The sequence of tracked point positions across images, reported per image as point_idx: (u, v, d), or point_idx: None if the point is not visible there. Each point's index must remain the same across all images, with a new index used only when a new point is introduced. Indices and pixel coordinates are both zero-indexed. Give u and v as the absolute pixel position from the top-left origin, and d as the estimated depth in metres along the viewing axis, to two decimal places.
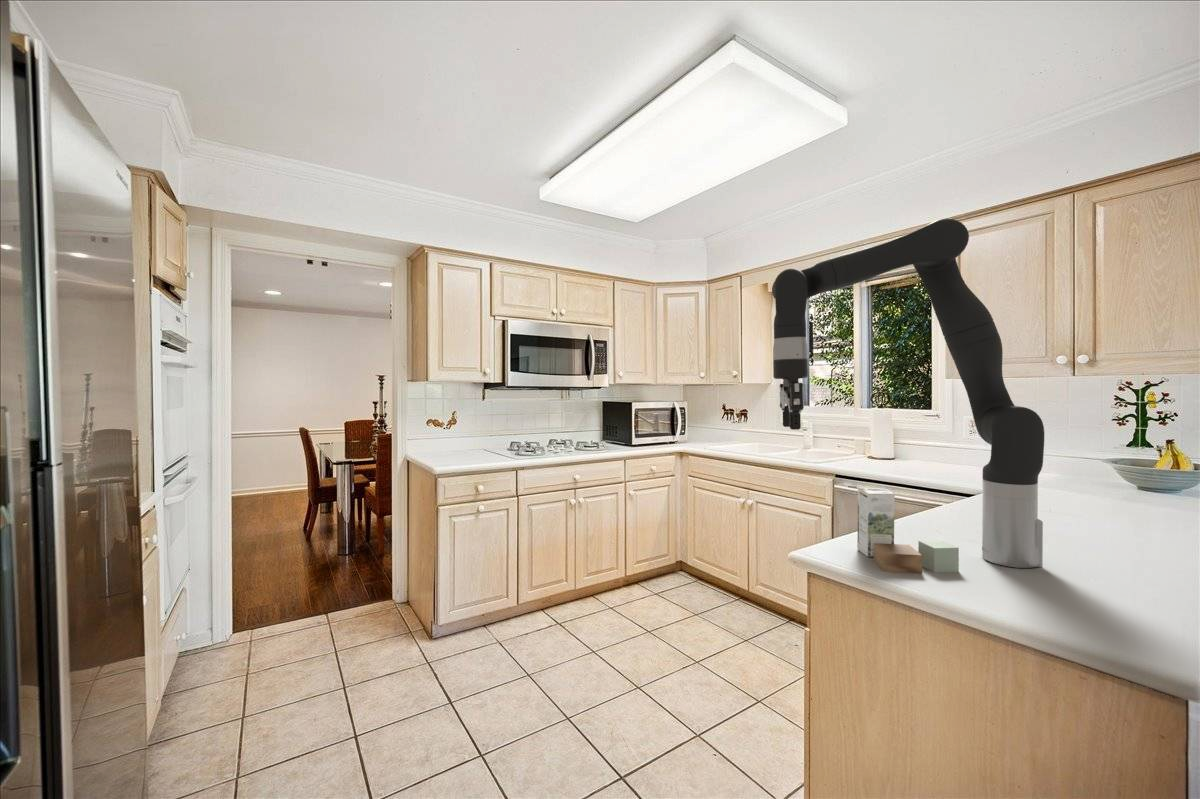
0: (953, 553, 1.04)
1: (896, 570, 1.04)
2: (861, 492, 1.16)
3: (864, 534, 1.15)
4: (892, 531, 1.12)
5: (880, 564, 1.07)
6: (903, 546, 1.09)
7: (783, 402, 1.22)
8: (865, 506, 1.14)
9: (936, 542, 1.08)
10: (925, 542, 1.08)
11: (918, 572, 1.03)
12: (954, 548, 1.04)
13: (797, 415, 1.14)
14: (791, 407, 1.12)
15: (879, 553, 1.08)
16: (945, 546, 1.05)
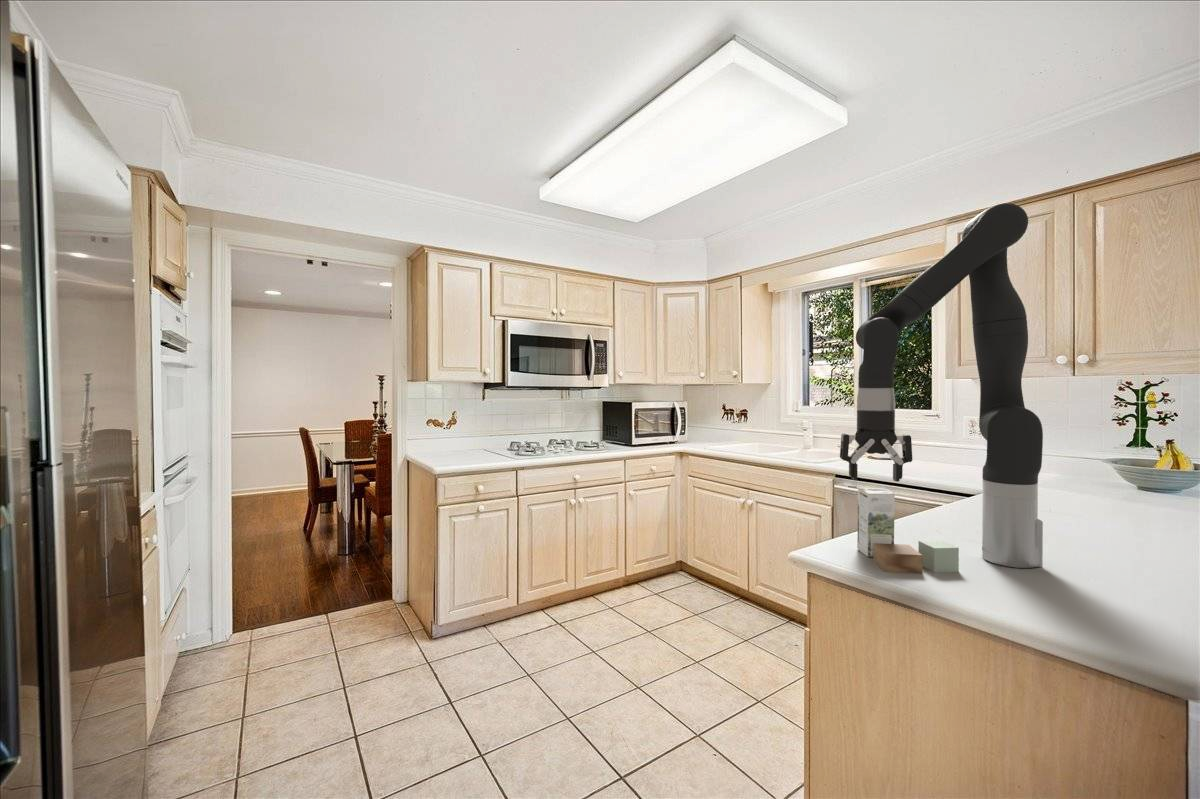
0: (953, 553, 1.04)
1: (897, 570, 1.04)
2: (861, 492, 1.16)
3: (864, 534, 1.15)
4: (892, 531, 1.12)
5: (880, 564, 1.07)
6: (903, 546, 1.09)
7: None
8: (865, 506, 1.14)
9: (936, 542, 1.08)
10: (925, 542, 1.08)
11: (918, 572, 1.03)
12: (954, 548, 1.04)
13: None
14: (910, 459, 1.12)
15: (879, 553, 1.07)
16: (945, 546, 1.05)
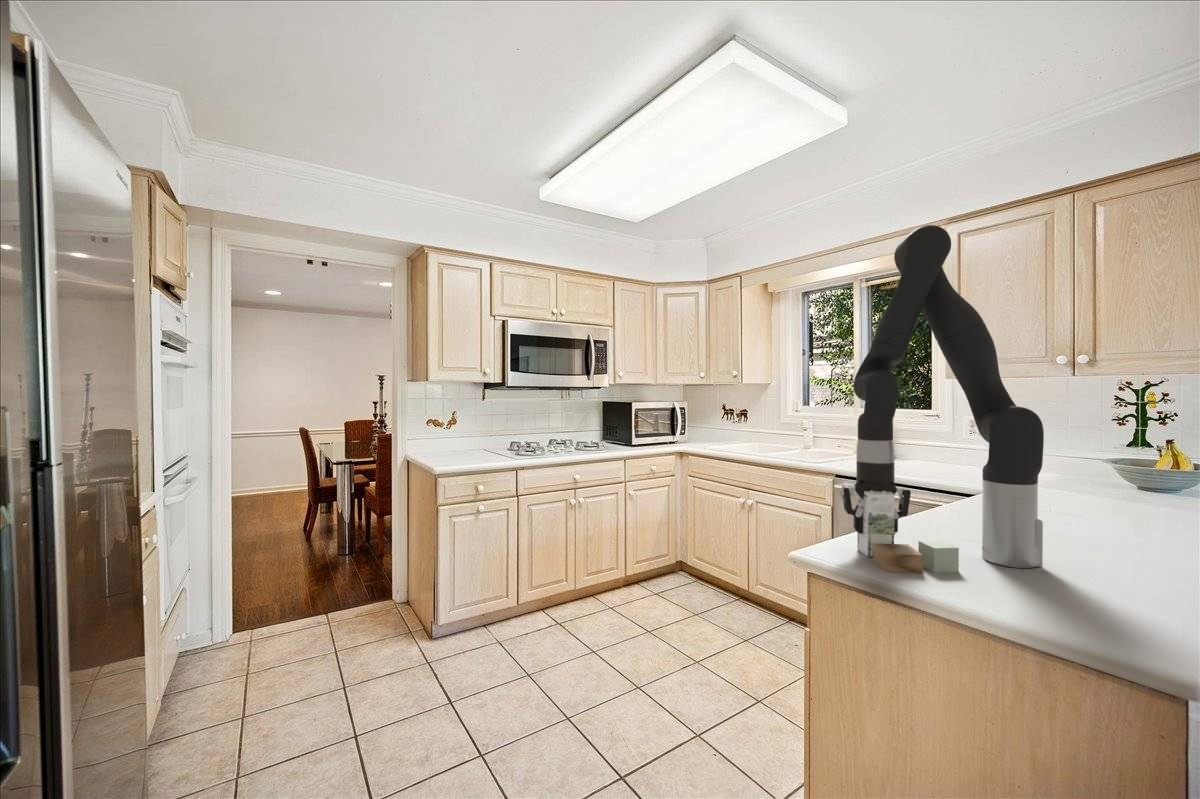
0: (953, 553, 1.04)
1: (897, 570, 1.04)
2: None
3: (864, 534, 1.15)
4: (892, 531, 1.12)
5: (881, 564, 1.07)
6: (902, 546, 1.09)
7: None
8: (865, 506, 1.14)
9: (936, 542, 1.08)
10: (925, 542, 1.08)
11: (919, 572, 1.03)
12: (954, 548, 1.04)
13: None
14: (906, 513, 1.13)
15: (880, 553, 1.07)
16: (945, 546, 1.05)
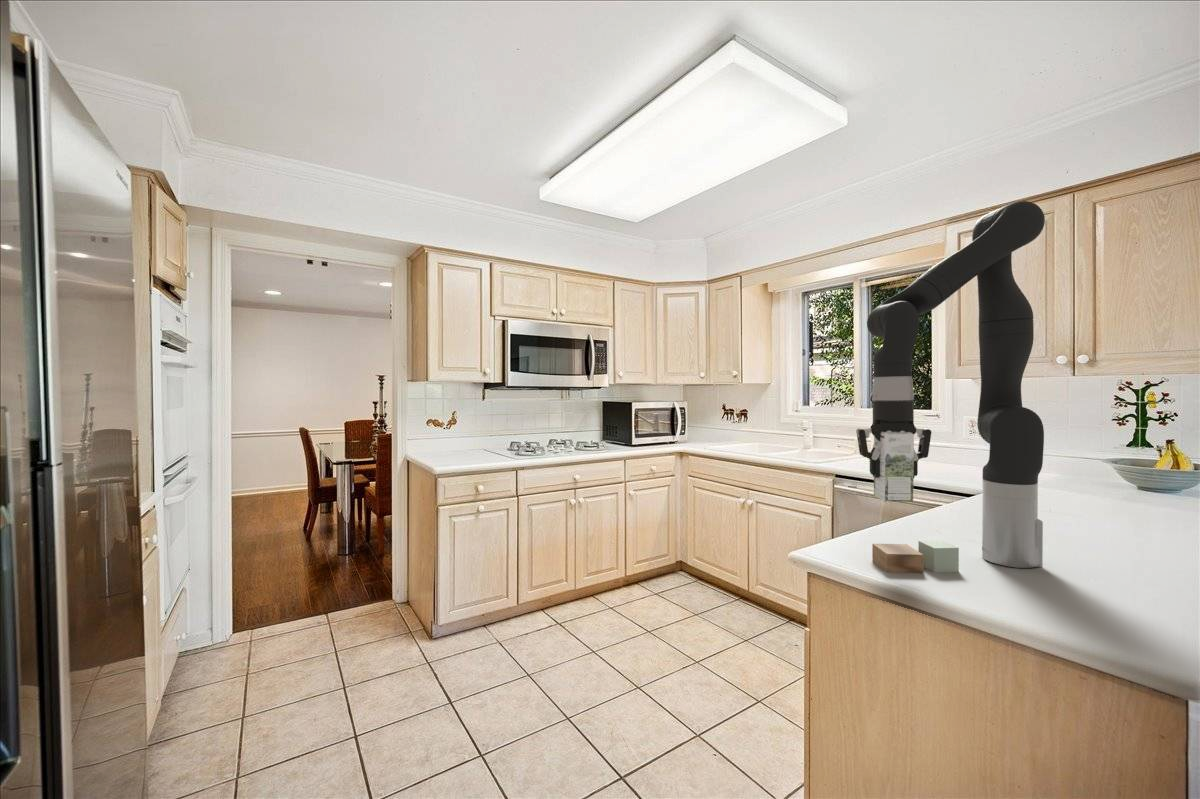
0: (953, 553, 1.04)
1: (898, 570, 1.04)
2: None
3: (881, 478, 1.08)
4: (912, 473, 1.05)
5: (881, 565, 1.07)
6: (901, 546, 1.09)
7: None
8: (882, 447, 1.07)
9: (936, 542, 1.08)
10: (925, 542, 1.08)
11: (919, 572, 1.04)
12: (954, 548, 1.04)
13: None
14: (926, 455, 1.06)
15: (880, 554, 1.07)
16: (945, 546, 1.05)
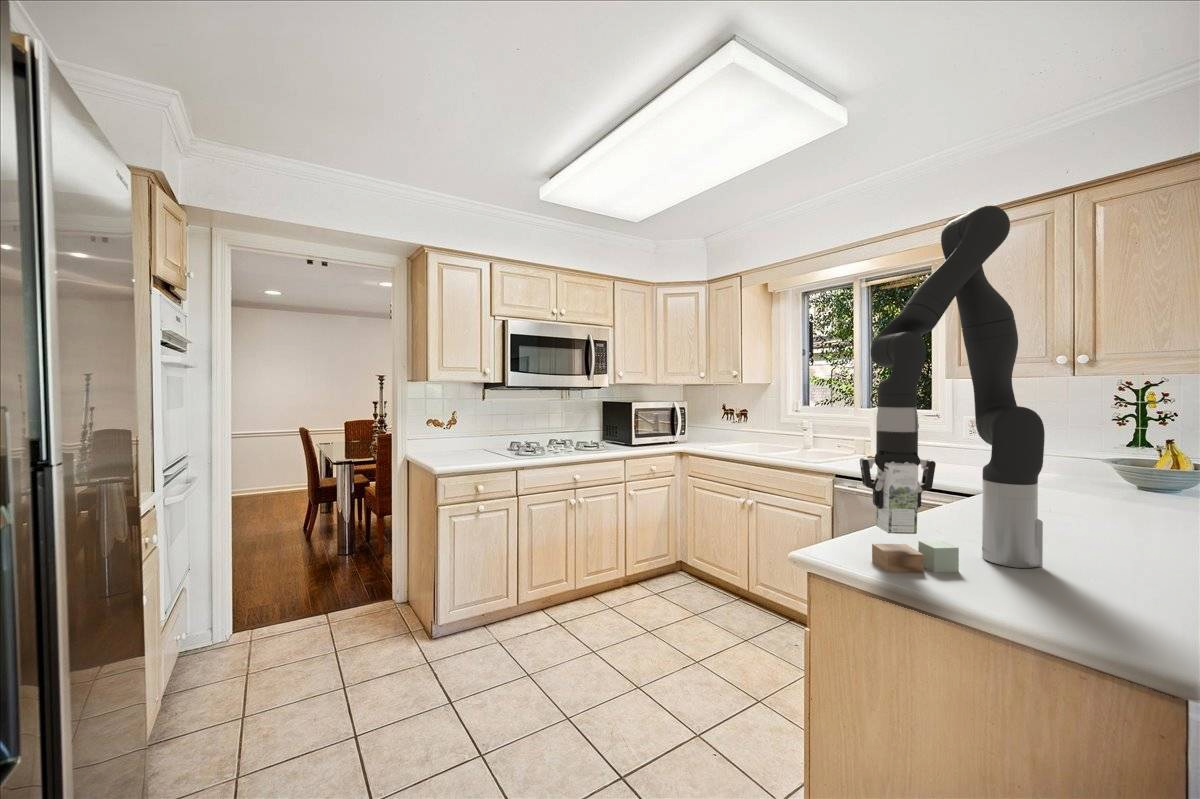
0: (953, 553, 1.04)
1: (899, 570, 1.04)
2: None
3: (885, 509, 1.06)
4: (915, 505, 1.04)
5: (882, 565, 1.06)
6: (901, 546, 1.09)
7: None
8: (886, 478, 1.06)
9: (936, 542, 1.08)
10: (925, 542, 1.08)
11: (920, 571, 1.04)
12: (954, 548, 1.04)
13: None
14: (930, 486, 1.05)
15: (880, 554, 1.07)
16: (945, 546, 1.05)
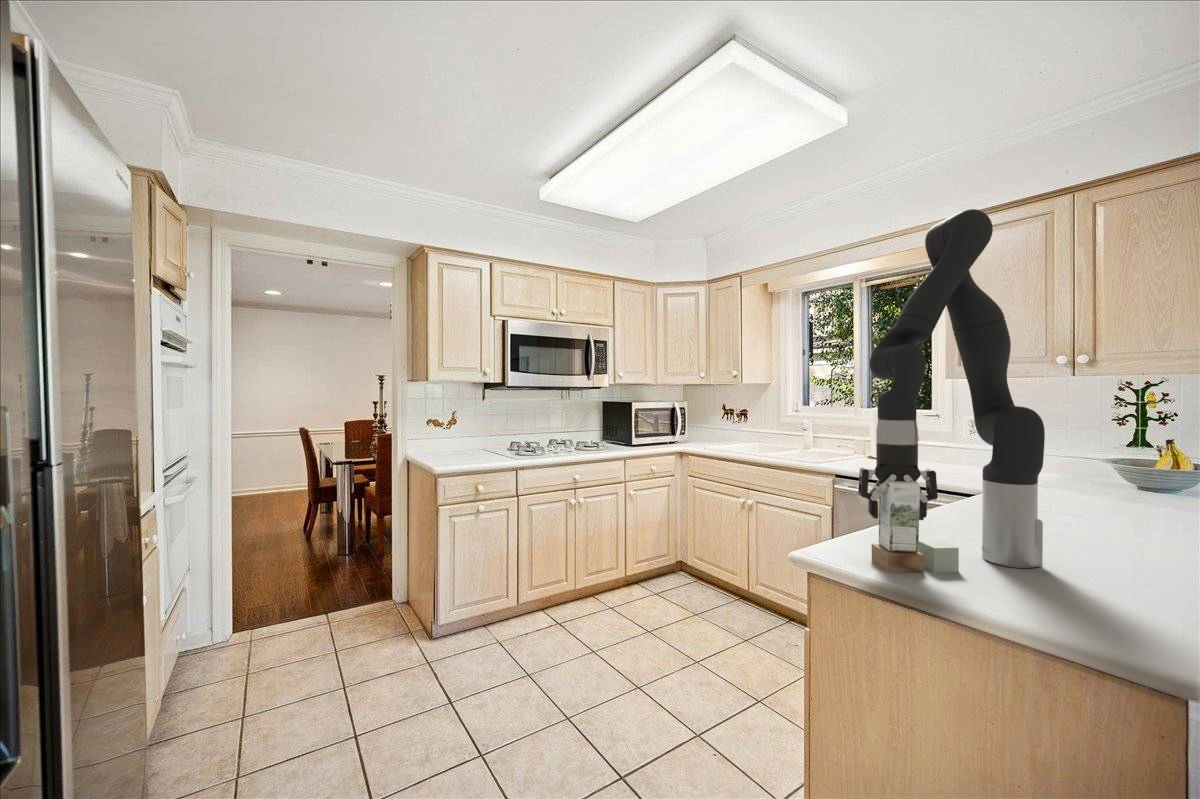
0: (953, 553, 1.04)
1: (899, 570, 1.04)
2: None
3: (886, 527, 1.07)
4: (917, 523, 1.04)
5: (882, 565, 1.06)
6: None
7: None
8: (887, 496, 1.06)
9: (936, 542, 1.08)
10: (925, 542, 1.08)
11: (920, 571, 1.04)
12: (954, 548, 1.04)
13: None
14: (935, 496, 1.04)
15: (880, 554, 1.07)
16: (945, 546, 1.05)
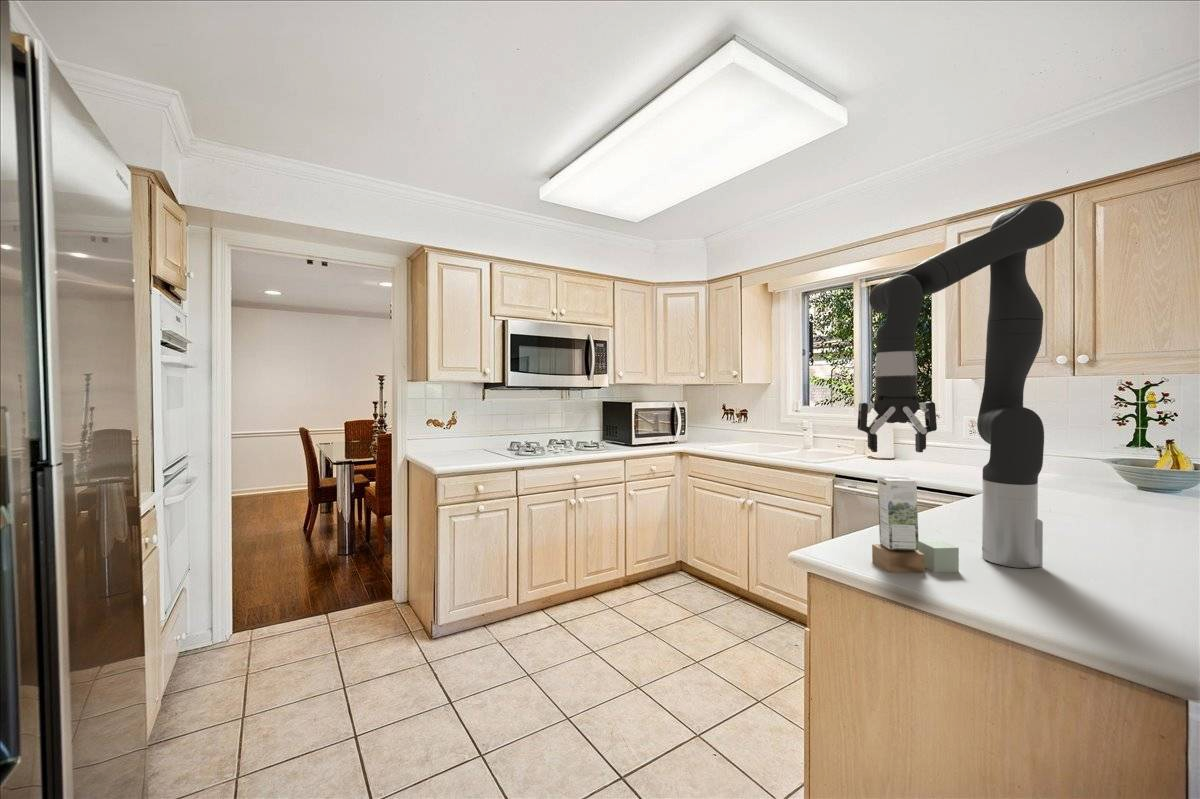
0: (953, 553, 1.04)
1: (901, 571, 1.04)
2: (880, 481, 1.09)
3: (885, 525, 1.07)
4: (916, 521, 1.05)
5: (883, 565, 1.06)
6: None
7: None
8: (885, 494, 1.07)
9: (936, 542, 1.08)
10: (925, 542, 1.08)
11: (921, 571, 1.04)
12: (954, 548, 1.04)
13: None
14: (935, 428, 1.04)
15: (881, 554, 1.07)
16: (945, 546, 1.05)
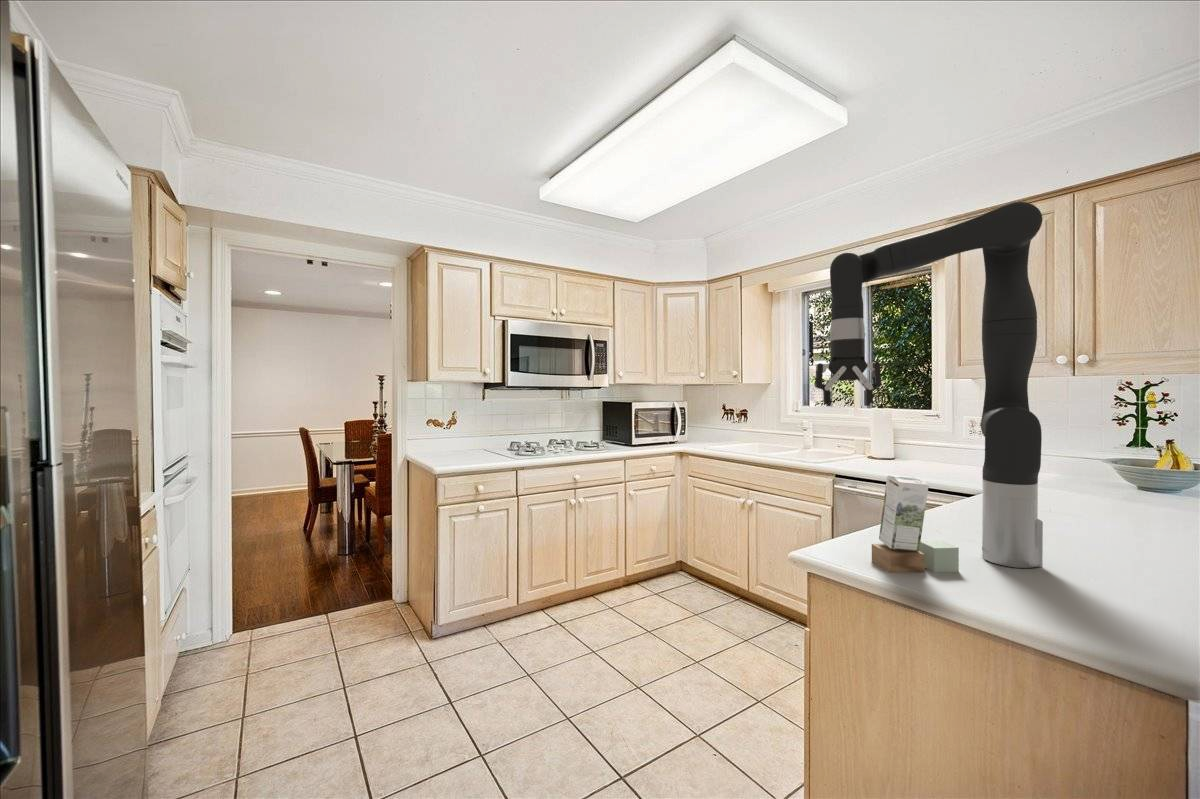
0: (953, 553, 1.04)
1: (901, 570, 1.04)
2: (891, 480, 1.07)
3: (890, 525, 1.06)
4: (921, 524, 1.04)
5: (883, 565, 1.06)
6: None
7: (835, 381, 1.23)
8: (895, 495, 1.05)
9: (936, 542, 1.08)
10: (925, 542, 1.08)
11: (921, 571, 1.04)
12: (954, 548, 1.04)
13: None
14: (879, 384, 1.21)
15: (882, 554, 1.07)
16: (945, 546, 1.05)
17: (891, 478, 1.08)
